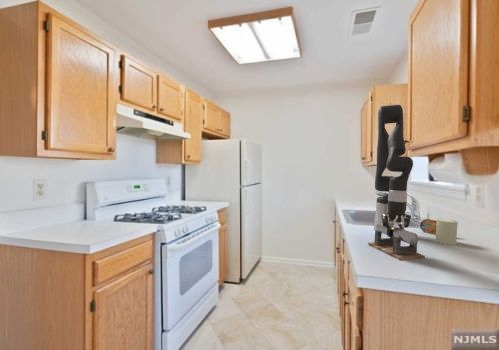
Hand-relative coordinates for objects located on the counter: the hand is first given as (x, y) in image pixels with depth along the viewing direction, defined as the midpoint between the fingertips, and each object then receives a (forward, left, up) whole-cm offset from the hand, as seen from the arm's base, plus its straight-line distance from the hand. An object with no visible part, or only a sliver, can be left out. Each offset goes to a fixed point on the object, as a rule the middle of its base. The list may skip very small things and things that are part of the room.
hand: (395, 236), depth 122 cm
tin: (-24, +48, -7) cm, 54 cm away
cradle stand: (0, 0, -7) cm, 7 cm away
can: (-10, +40, -7) cm, 42 cm away
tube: (0, 0, -1) cm, 1 cm away
